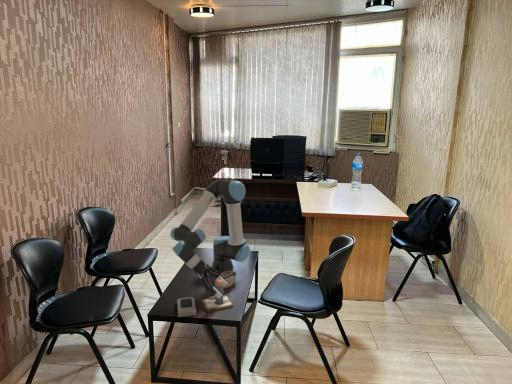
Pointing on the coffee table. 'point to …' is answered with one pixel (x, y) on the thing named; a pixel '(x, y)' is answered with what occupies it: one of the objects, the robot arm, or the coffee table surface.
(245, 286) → the coffee table surface
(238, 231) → the robot arm
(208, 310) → the clipboard
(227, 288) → the food container
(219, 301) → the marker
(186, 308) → the grey framed panel
